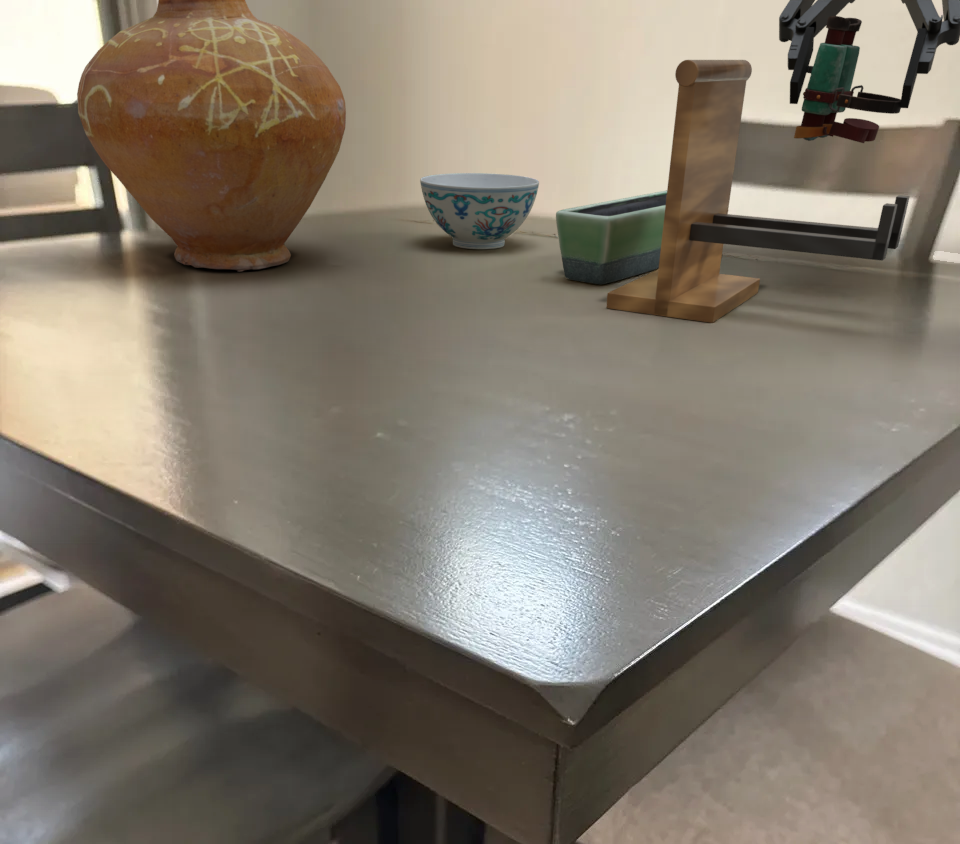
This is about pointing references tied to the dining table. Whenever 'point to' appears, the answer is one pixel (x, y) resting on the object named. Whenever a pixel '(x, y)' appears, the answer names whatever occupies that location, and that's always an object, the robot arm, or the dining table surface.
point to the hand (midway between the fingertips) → (848, 95)
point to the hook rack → (726, 209)
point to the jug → (214, 128)
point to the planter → (612, 238)
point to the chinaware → (479, 206)
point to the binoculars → (839, 89)
